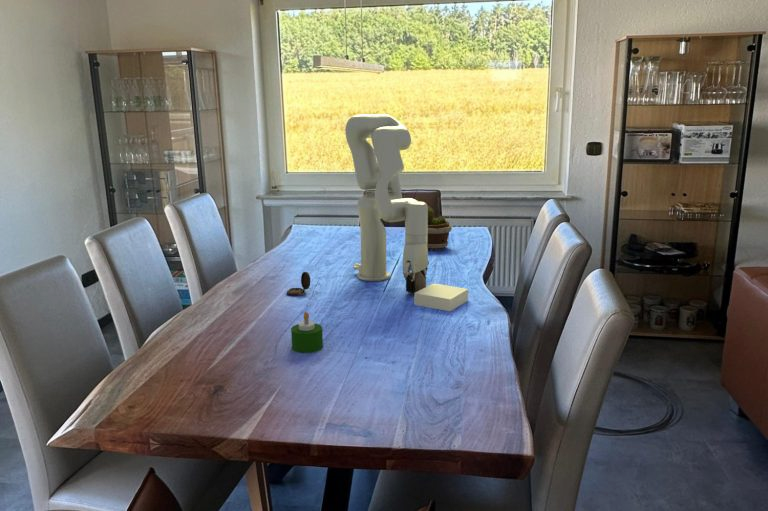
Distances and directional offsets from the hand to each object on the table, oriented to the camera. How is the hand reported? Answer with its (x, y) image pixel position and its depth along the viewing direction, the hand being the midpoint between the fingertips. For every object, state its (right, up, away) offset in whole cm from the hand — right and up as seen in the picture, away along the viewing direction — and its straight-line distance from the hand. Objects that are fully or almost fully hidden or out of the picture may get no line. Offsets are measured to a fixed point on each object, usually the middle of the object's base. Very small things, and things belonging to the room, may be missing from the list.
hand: (416, 288), depth 214 cm
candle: (-32, -14, -45) cm, 57 cm away
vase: (0, -2, 0) cm, 2 cm away
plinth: (+8, -4, -9) cm, 13 cm away
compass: (-40, -2, +1) cm, 40 cm away
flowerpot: (+12, +14, +67) cm, 70 cm away
